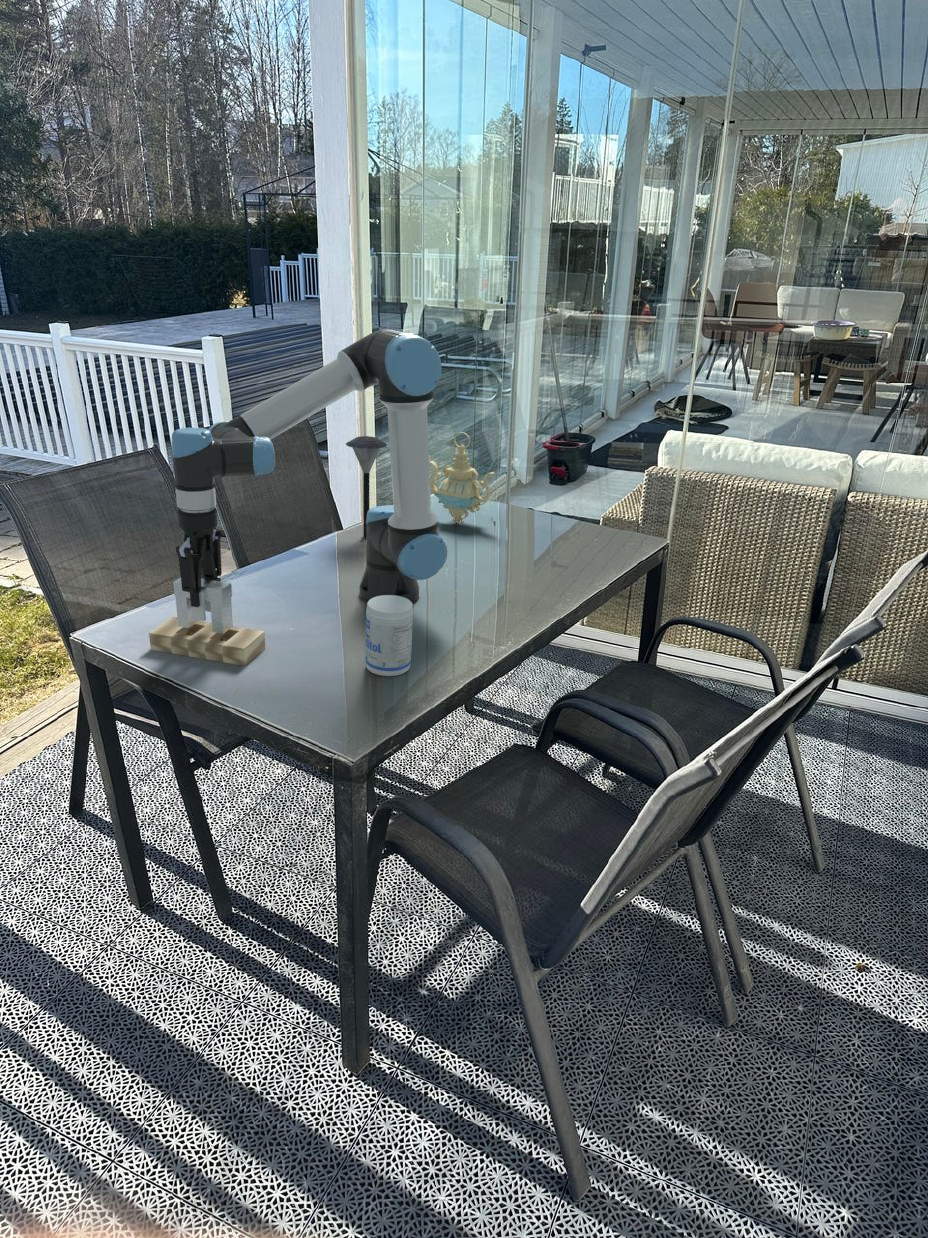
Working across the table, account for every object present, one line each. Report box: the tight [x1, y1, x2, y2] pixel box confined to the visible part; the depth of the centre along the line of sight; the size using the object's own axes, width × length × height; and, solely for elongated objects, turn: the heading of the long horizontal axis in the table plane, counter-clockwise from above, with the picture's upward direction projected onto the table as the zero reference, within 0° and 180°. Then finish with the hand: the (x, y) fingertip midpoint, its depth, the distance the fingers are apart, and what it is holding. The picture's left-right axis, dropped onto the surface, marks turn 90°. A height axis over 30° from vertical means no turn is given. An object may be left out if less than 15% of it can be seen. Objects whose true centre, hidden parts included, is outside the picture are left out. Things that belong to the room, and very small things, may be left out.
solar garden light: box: [345, 435, 389, 538], centre depth 244 cm, size 12×12×30 cm
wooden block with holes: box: [148, 616, 266, 667], centre depth 175 cm, size 22×9×4 cm, turn 76°
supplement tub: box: [364, 595, 414, 677], centre depth 169 cm, size 10×10×15 cm
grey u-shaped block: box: [172, 577, 234, 634], centre depth 171 cm, size 11×4×10 cm, turn 76°
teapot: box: [429, 431, 496, 525], centre depth 260 cm, size 24×12×30 cm, turn 60°
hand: (205, 615), depth 172 cm, fingers closed on grey u-shaped block, 4 cm apart
